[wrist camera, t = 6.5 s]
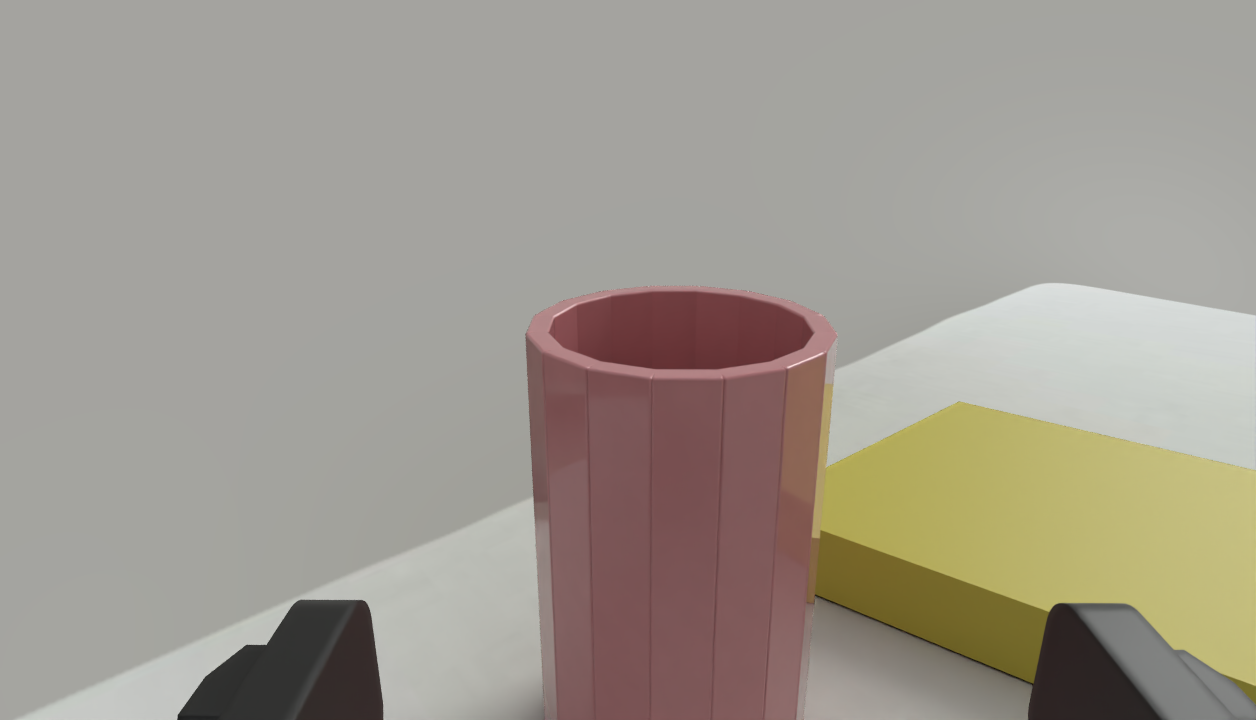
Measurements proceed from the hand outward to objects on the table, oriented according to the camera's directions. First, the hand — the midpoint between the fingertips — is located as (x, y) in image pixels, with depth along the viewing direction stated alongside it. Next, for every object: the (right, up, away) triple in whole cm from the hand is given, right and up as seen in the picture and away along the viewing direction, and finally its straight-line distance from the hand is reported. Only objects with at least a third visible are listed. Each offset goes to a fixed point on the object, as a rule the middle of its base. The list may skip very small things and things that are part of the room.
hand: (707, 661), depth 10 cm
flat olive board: (+16, -4, +13) cm, 21 cm away
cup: (0, -5, +10) cm, 11 cm away
